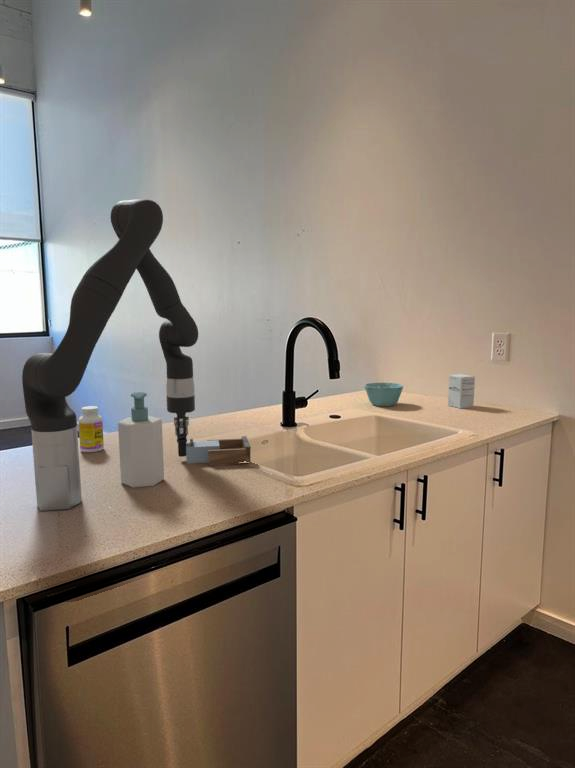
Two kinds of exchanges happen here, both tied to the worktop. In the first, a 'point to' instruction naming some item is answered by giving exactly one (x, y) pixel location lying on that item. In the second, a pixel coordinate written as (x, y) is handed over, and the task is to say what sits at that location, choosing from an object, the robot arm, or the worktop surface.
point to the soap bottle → (141, 446)
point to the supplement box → (461, 391)
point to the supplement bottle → (91, 430)
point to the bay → (230, 452)
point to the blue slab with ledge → (200, 450)
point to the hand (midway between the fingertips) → (182, 455)
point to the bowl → (383, 393)
